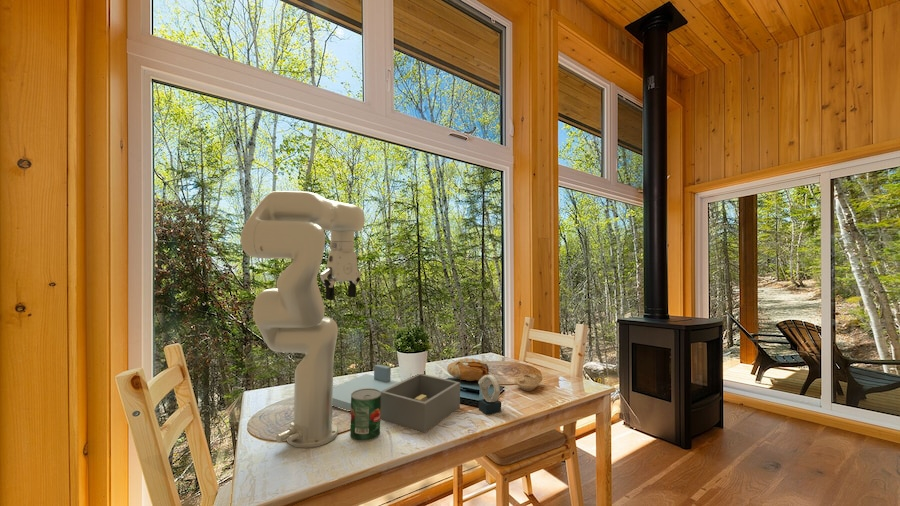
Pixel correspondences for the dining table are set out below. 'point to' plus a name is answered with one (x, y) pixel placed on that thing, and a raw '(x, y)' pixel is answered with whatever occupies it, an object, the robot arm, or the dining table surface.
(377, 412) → the canned tomato
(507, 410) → the dining table surface
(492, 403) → the stone ring on base
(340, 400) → the lid
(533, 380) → the pottery oil lamp
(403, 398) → the tub
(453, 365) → the bread loaf
